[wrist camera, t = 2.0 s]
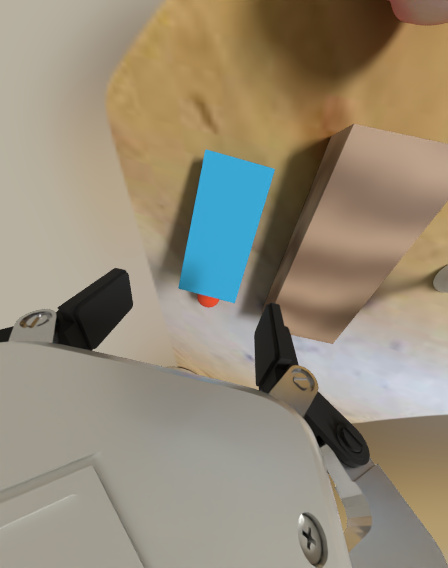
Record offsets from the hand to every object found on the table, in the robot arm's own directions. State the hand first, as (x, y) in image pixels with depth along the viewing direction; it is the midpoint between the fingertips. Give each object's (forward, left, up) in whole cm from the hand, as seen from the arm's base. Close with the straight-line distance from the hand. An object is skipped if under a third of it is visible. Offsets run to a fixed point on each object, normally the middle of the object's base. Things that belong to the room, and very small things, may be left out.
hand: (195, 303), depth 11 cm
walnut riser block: (+1, -13, -13) cm, 19 cm away
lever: (0, 0, -14) cm, 14 cm away
